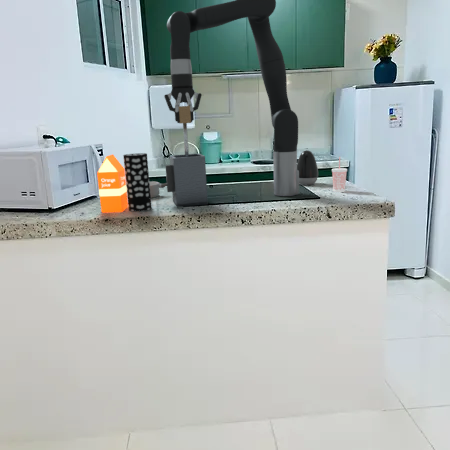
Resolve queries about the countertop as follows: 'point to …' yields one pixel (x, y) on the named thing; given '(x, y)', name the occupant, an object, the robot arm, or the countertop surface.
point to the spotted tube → (137, 182)
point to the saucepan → (155, 188)
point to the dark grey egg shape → (307, 168)
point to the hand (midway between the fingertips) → (184, 122)
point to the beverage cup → (339, 178)
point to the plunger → (185, 124)
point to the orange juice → (112, 186)
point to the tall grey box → (187, 180)
